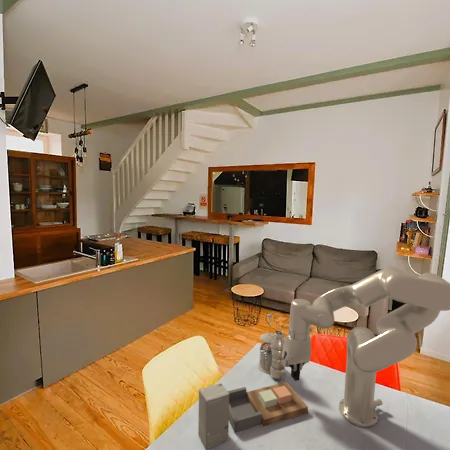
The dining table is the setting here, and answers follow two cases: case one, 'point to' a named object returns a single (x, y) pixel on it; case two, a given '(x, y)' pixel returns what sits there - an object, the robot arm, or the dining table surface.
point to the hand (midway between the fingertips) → (295, 378)
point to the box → (242, 411)
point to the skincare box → (213, 415)
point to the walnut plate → (277, 406)
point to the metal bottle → (277, 356)
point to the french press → (266, 347)
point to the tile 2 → (282, 394)
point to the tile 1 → (267, 398)
